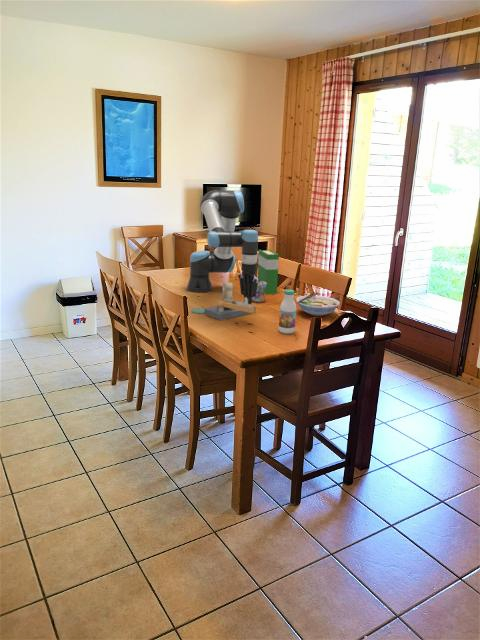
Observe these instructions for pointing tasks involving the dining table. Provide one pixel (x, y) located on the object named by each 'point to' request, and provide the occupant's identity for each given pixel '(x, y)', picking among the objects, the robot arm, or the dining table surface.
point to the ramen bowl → (317, 304)
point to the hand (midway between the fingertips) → (247, 309)
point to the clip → (235, 306)
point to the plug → (227, 293)
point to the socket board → (225, 312)
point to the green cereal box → (268, 270)
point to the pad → (198, 310)
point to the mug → (260, 292)
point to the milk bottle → (287, 313)
